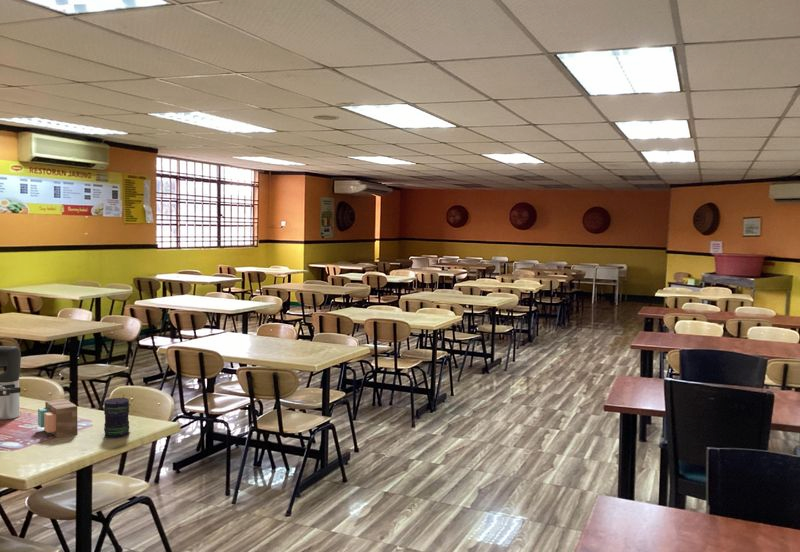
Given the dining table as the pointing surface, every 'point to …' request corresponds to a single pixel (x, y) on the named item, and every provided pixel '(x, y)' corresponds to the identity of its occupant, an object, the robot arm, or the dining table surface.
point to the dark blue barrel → (116, 418)
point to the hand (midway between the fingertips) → (17, 388)
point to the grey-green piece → (42, 415)
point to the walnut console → (64, 417)
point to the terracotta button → (50, 422)
